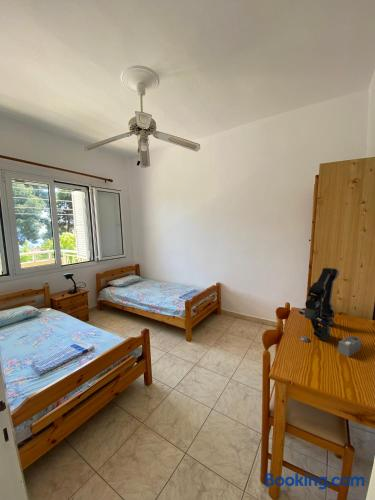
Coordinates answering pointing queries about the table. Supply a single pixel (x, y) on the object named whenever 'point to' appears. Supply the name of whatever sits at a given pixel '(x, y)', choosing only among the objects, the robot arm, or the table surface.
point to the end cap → (322, 331)
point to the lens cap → (304, 339)
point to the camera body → (349, 345)
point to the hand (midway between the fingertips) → (314, 328)
